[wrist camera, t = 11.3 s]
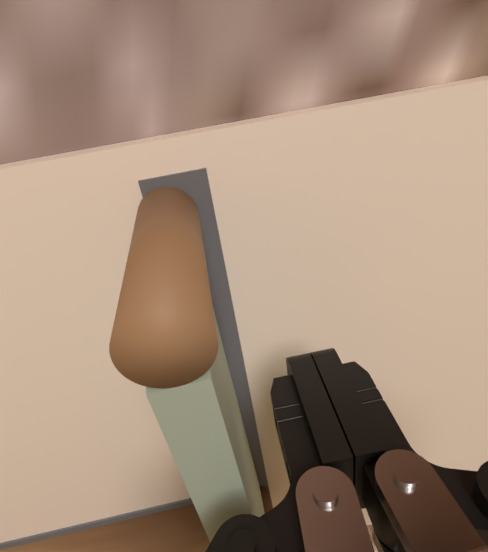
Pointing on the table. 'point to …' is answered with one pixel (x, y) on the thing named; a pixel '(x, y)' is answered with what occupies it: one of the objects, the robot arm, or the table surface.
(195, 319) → the hinged fence section
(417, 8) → the table surface
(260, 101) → the table surface
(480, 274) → the card
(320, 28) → the table surface
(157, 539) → the fence
